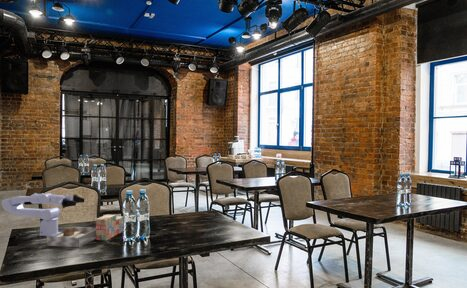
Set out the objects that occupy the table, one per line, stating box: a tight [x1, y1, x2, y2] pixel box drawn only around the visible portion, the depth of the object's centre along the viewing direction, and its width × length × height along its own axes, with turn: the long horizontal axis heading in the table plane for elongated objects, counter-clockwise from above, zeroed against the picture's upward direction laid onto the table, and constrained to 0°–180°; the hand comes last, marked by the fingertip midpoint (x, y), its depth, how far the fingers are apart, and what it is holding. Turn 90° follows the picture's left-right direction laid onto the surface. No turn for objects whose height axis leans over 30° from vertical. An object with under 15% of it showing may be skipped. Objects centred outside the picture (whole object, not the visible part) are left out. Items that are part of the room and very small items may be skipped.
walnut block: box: [63, 226, 74, 236], centre depth 209 cm, size 4×4×4 cm
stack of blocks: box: [95, 214, 125, 241], centre depth 220 cm, size 21×6×12 cm, turn 169°
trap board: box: [46, 226, 96, 248], centre depth 208 cm, size 19×21×5 cm
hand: (79, 202), depth 217 cm, fingers open, 7 cm apart
